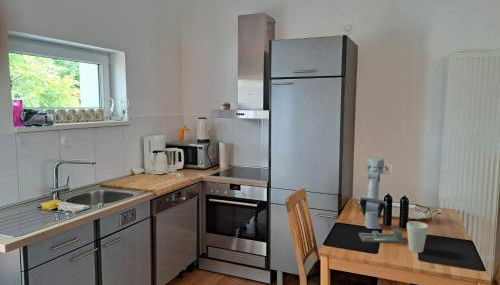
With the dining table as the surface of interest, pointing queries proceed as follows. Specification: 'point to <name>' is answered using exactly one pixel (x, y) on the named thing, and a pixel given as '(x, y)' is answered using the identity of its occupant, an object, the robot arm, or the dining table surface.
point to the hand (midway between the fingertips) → (371, 215)
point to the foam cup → (416, 235)
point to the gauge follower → (375, 234)
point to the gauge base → (384, 237)
